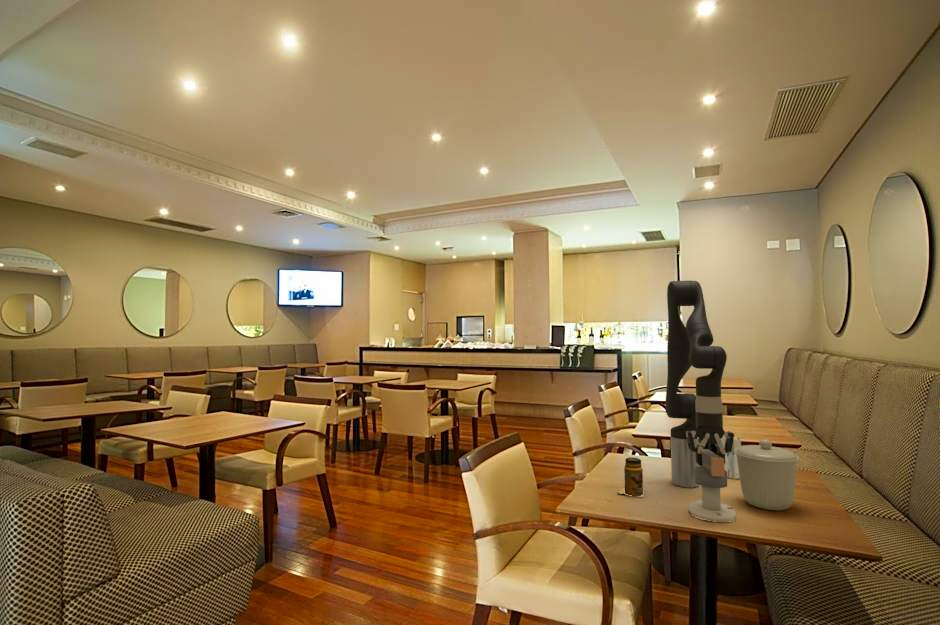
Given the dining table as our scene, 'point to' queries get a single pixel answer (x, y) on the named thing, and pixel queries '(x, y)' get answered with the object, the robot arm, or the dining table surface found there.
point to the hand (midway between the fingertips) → (710, 465)
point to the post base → (712, 514)
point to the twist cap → (711, 471)
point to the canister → (767, 475)
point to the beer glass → (732, 459)
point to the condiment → (633, 477)
